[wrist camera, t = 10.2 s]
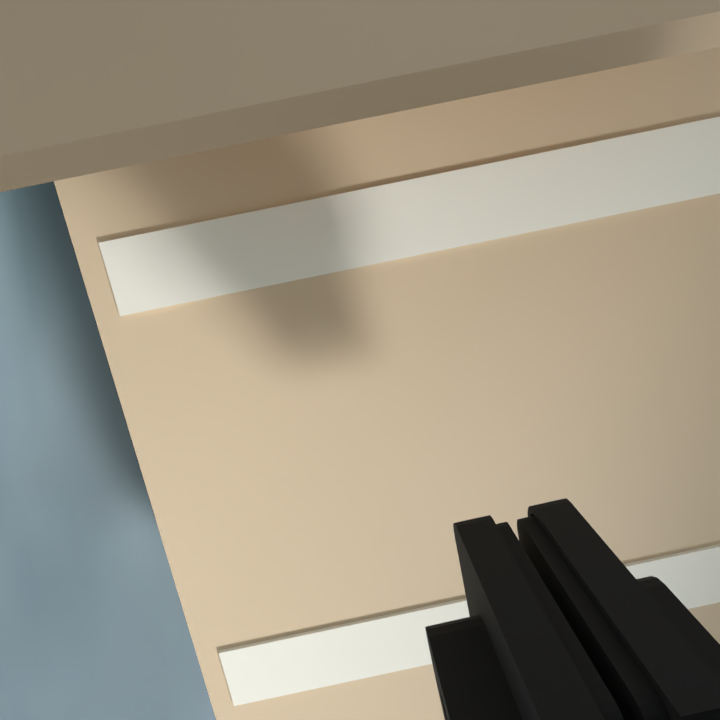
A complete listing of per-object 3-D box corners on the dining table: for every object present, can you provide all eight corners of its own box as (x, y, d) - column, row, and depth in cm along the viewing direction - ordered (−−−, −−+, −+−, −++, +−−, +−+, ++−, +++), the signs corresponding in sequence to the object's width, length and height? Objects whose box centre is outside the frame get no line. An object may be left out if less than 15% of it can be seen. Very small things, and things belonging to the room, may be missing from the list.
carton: (573, 8, 19) (751, -128, 11) (630, 550, 23) (787, 726, 16) (134, 96, 19) (2, 20, 11) (274, 626, 23) (251, 842, 15)
